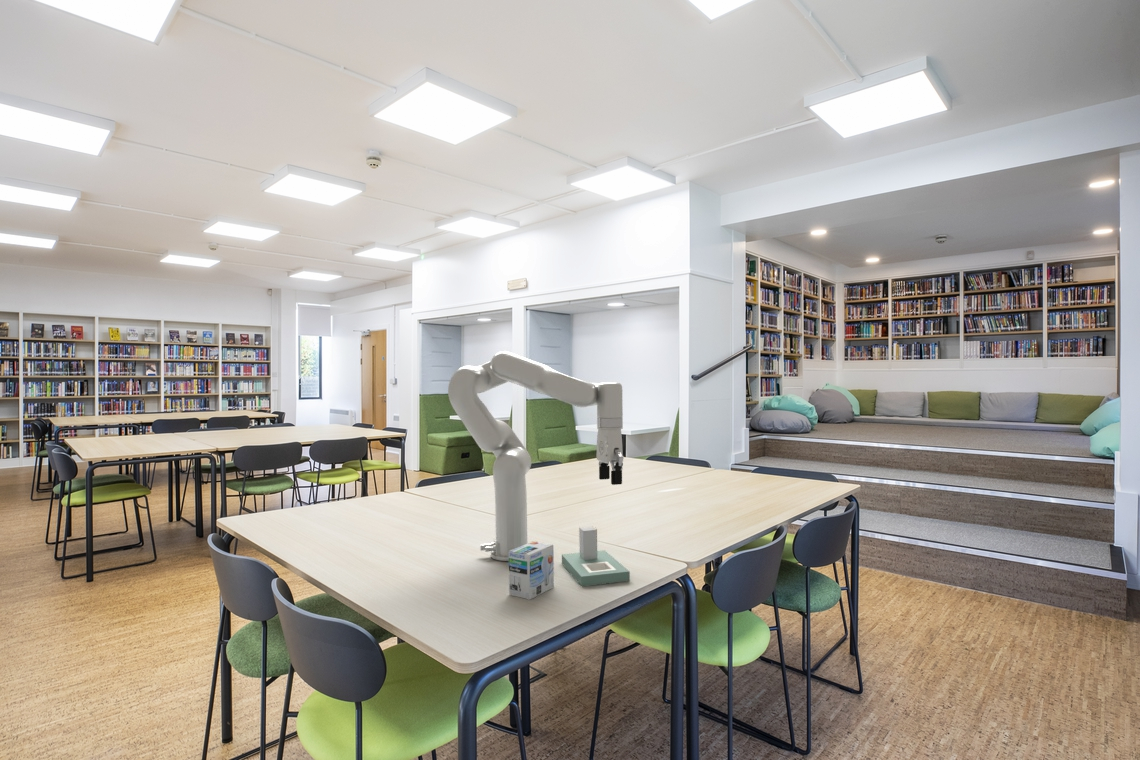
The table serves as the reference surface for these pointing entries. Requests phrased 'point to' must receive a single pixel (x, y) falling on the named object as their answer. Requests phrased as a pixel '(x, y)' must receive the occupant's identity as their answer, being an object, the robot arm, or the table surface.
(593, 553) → the plug
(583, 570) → the board
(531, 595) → the light bulb box
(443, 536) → the table surface
